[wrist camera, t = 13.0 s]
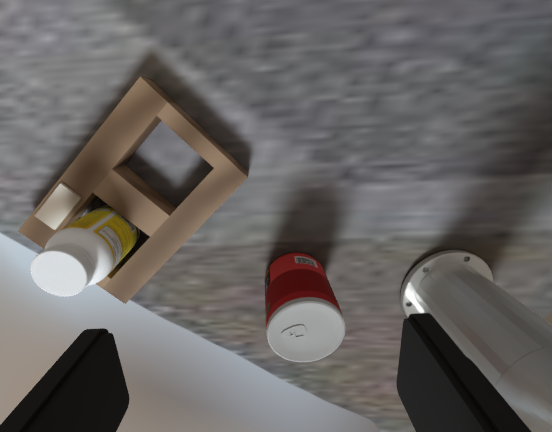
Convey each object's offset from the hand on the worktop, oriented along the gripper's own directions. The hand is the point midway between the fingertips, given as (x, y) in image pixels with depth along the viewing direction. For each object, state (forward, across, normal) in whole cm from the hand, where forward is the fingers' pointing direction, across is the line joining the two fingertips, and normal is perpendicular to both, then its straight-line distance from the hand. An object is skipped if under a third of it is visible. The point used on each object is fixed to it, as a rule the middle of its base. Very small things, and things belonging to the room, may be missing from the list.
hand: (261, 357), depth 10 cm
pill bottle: (+27, +19, +5) cm, 33 cm away
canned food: (+28, -3, +13) cm, 31 cm away
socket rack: (+27, +15, +1) cm, 31 cm away
